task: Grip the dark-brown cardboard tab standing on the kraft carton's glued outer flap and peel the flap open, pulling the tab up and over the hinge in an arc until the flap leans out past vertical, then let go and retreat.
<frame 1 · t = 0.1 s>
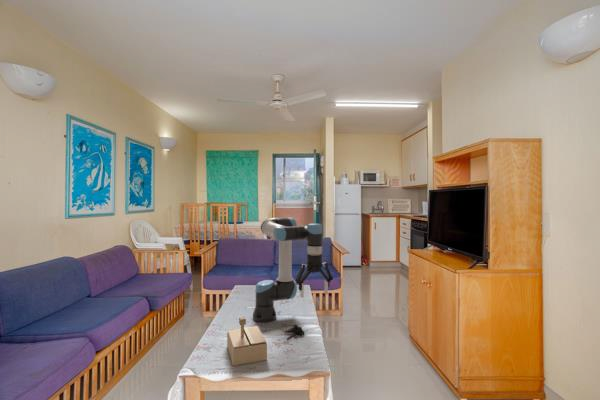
hand: (314, 295, 158), 28 cm above the table, fingers open, 13 cm apart
stuffed animal: (294, 335, 176), on the table
carton: (246, 353, 154), on the table
flap outer: (238, 328, 153), point 13 cm above the table, hinge at 0.0°
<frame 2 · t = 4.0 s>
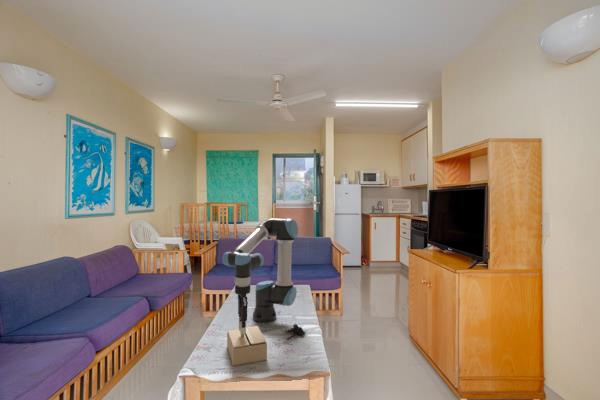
hand: (242, 331, 153), 11 cm above the table, fingers closed on flap outer, 3 cm apart
flap outer: (238, 328, 153), point 13 cm above the table, hinge at 0.0°, touching gripper
everything else where it was.
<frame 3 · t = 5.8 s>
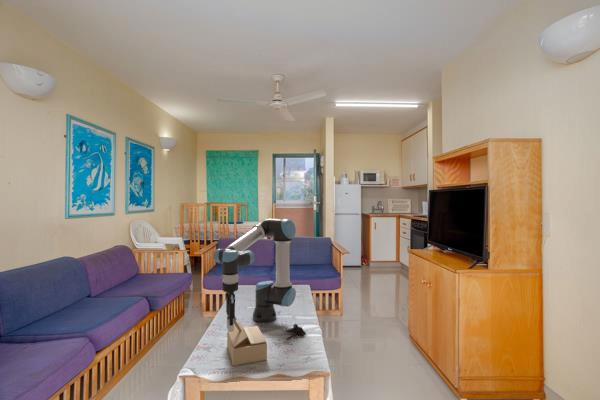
hand: (230, 329, 151), 13 cm above the table, fingers closed on flap outer, 3 cm apart
flap outer: (232, 326, 152), point 14 cm above the table, hinge at 31.2°, touching gripper
everything else where it was.
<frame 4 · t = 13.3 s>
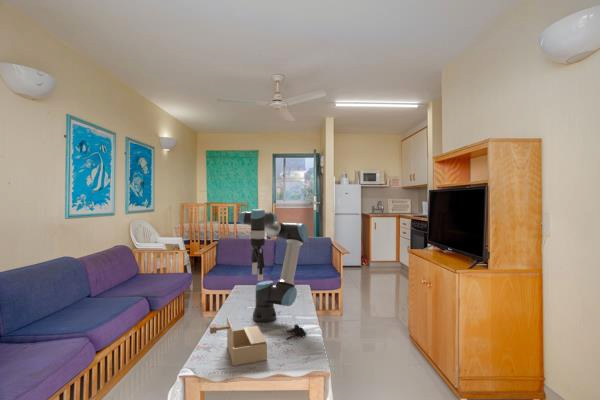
hand: (257, 277, 167), 35 cm above the table, fingers open, 13 cm apart
flap outer: (220, 332, 150), point 12 cm above the table, hinge at 90.9°
at the end: flap outer at +91° (first picture: +0°); the gripper is holding nothing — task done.
